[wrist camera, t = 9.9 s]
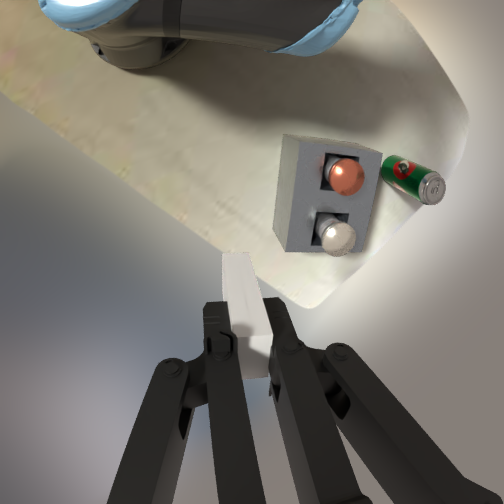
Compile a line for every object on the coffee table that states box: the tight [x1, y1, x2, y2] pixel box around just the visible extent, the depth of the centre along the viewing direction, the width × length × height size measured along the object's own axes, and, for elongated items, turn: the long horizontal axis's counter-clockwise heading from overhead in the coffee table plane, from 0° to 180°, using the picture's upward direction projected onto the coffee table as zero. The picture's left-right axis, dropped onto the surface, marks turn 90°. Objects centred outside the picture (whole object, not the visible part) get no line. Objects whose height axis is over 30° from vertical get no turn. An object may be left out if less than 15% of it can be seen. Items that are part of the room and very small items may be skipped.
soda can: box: [381, 155, 446, 205], centre depth 42 cm, size 5×5×12 cm
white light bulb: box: [313, 212, 356, 257], centre depth 42 cm, size 5×5×8 cm
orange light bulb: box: [322, 152, 365, 196], centre depth 39 cm, size 5×5×8 cm
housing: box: [273, 134, 383, 252], centre depth 43 cm, size 15×12×8 cm
